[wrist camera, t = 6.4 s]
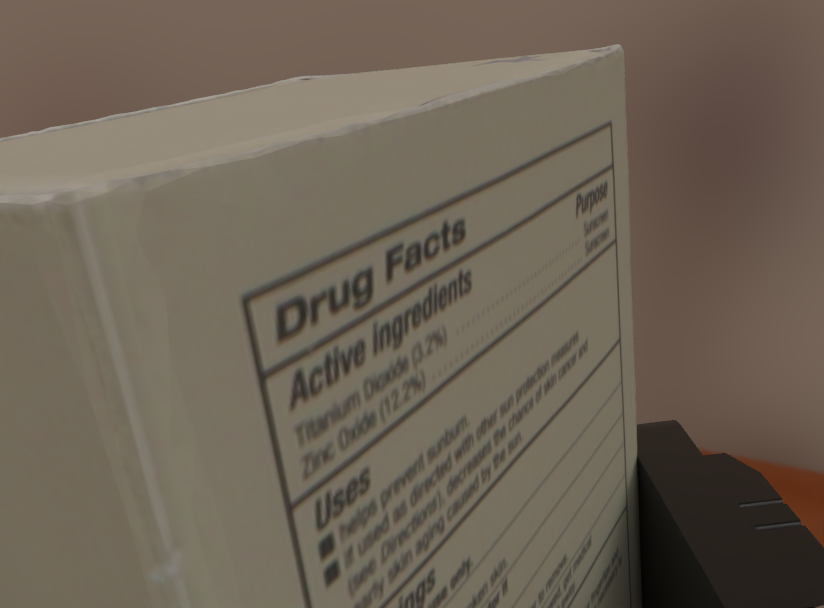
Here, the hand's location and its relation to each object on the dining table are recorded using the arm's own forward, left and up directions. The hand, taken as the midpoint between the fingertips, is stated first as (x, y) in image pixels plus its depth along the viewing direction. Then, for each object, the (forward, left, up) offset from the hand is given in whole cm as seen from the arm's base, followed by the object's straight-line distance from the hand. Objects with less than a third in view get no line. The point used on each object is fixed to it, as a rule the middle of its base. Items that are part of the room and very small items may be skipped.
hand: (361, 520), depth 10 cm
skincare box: (0, +2, -7) cm, 7 cm away
